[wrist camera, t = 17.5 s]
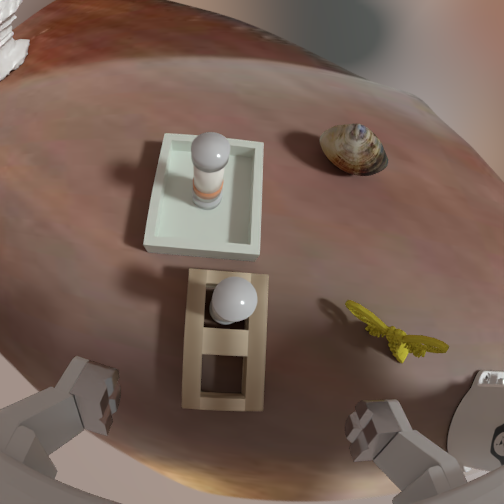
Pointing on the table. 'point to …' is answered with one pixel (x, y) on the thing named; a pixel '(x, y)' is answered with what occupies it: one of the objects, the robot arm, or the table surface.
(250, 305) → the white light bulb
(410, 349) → the decorative insect
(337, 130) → the seashell
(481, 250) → the table surface
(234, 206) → the tray
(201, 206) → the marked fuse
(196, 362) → the fuse block
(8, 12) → the bust
